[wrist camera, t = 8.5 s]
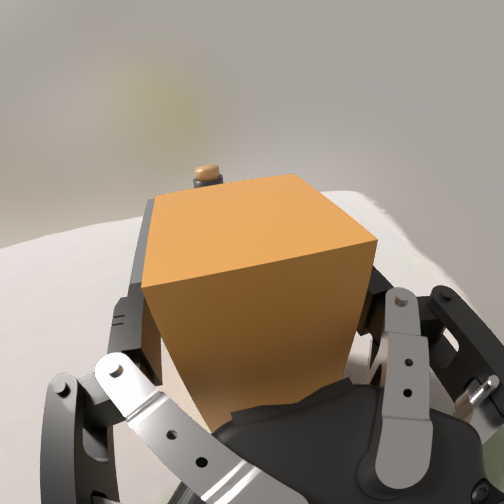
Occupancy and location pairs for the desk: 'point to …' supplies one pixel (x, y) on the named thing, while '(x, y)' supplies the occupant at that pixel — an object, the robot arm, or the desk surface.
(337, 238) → the tall orange cuboid
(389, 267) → the desk surface
